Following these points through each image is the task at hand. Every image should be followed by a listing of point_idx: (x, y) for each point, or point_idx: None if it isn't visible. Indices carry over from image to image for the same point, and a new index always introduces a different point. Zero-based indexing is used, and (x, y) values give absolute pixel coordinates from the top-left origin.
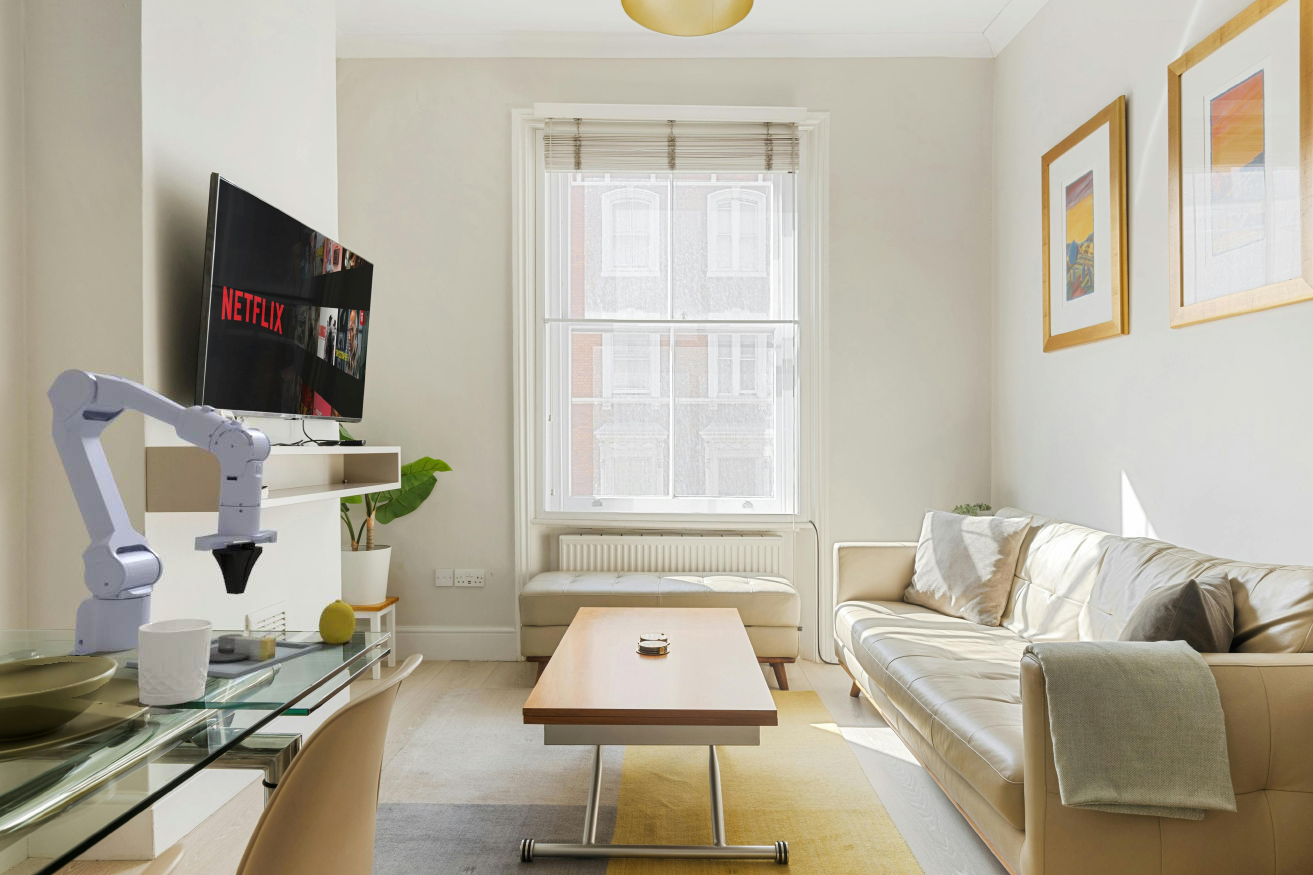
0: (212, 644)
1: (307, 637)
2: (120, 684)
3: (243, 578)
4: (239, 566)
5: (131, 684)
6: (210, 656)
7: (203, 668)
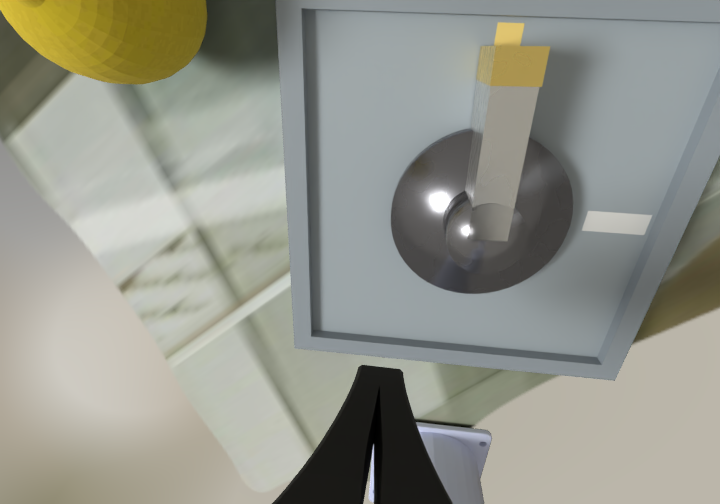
0: (360, 334)
1: (119, 202)
2: (692, 318)
3: (384, 420)
4: (447, 501)
5: (693, 297)
6: (562, 225)
7: None
